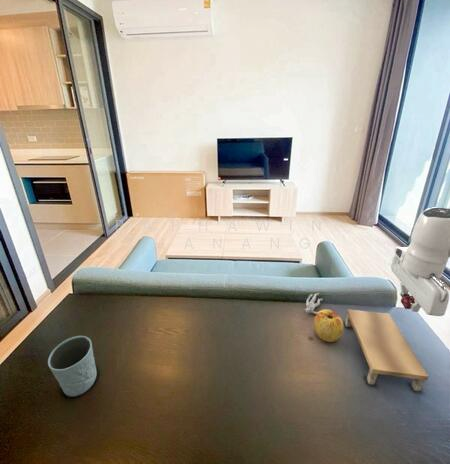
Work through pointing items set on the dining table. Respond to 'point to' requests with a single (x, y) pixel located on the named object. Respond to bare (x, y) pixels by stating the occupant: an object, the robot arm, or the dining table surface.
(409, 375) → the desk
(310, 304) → the soldier figure
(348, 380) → the dining table surface
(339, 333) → the apple
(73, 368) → the grey cup
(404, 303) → the dice
